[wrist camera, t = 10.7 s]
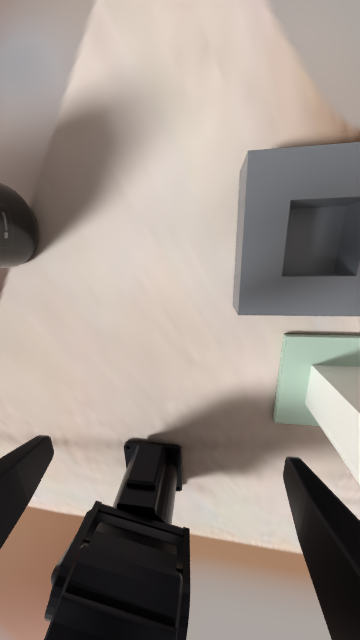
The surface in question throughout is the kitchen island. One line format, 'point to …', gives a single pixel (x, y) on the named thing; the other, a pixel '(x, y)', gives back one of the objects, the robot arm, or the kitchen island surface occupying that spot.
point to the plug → (337, 409)
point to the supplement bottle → (15, 229)
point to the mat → (308, 371)
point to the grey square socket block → (299, 232)
